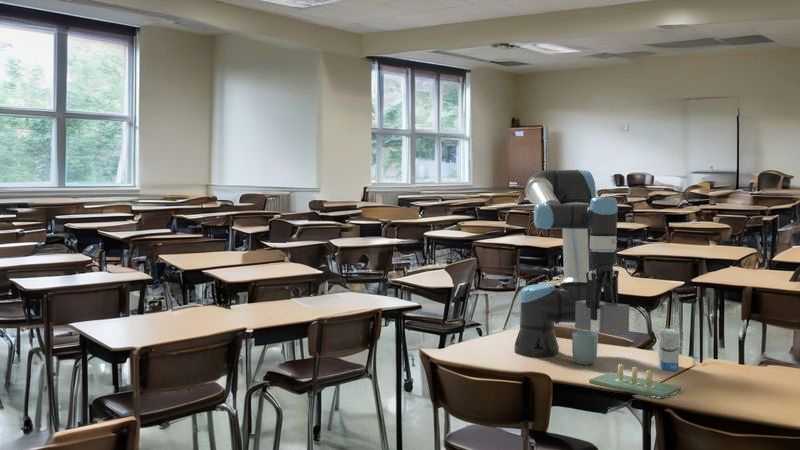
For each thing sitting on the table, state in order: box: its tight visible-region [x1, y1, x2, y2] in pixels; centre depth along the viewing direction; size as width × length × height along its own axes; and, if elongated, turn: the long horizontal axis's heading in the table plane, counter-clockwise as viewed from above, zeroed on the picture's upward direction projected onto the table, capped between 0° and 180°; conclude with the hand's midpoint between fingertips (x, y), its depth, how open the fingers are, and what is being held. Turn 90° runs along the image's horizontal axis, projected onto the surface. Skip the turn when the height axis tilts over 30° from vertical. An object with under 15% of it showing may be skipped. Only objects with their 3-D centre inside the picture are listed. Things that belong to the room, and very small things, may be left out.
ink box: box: [657, 328, 680, 372], centre depth 225 cm, size 8×5×12 cm, turn 168°
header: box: [588, 363, 682, 398], centre depth 204 cm, size 22×12×6 cm, turn 44°
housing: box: [574, 300, 630, 336], centre depth 207 cm, size 14×6×8 cm, turn 42°
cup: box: [571, 330, 599, 366], centre depth 230 cm, size 8×8×10 cm
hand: (601, 329), depth 207 cm, fingers closed on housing, 6 cm apart
